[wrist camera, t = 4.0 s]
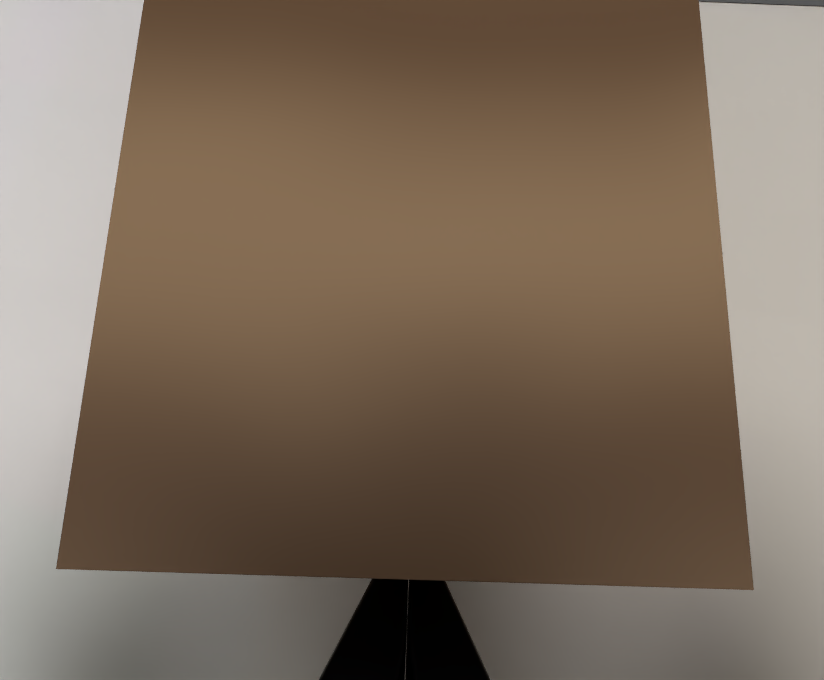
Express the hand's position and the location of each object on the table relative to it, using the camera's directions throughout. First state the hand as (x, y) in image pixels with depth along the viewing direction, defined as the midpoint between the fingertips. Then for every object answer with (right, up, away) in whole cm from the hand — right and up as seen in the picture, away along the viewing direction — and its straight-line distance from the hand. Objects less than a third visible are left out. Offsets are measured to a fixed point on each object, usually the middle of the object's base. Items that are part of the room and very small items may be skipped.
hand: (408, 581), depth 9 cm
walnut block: (0, +5, +8) cm, 10 cm away
